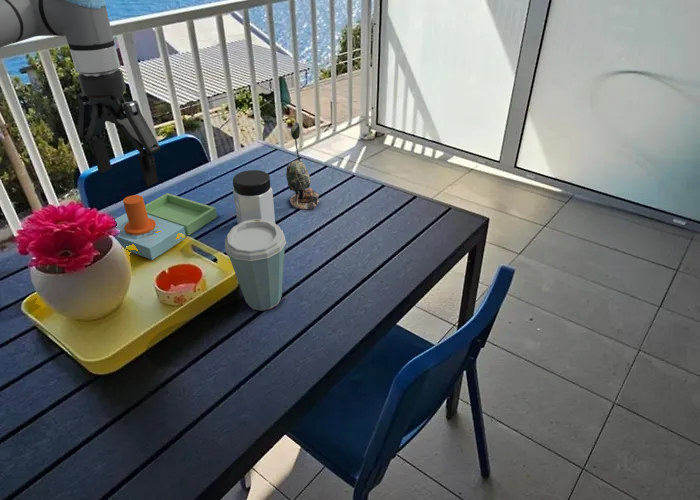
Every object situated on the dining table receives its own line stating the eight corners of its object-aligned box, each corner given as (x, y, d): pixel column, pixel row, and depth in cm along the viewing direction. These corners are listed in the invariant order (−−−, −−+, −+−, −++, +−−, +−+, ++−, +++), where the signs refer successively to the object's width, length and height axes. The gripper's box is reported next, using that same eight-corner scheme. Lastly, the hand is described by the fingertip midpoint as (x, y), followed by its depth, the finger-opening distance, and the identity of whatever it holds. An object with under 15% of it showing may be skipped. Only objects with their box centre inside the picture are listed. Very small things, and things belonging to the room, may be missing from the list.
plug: (121, 242, 110) (110, 202, 105) (144, 228, 115) (134, 189, 109) (142, 249, 108) (131, 209, 102) (164, 236, 112) (155, 196, 107)
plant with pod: (277, 210, 123) (271, 131, 112) (299, 190, 131) (295, 116, 120) (307, 216, 120) (303, 137, 109) (327, 196, 129) (326, 121, 118)
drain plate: (100, 240, 111) (96, 228, 109) (135, 220, 118) (132, 209, 116) (152, 260, 104) (149, 248, 103) (186, 237, 112) (184, 226, 110)
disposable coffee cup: (288, 318, 90) (282, 249, 81) (228, 319, 89) (216, 249, 81) (292, 282, 98) (288, 216, 90) (238, 283, 98) (228, 217, 90)
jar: (233, 219, 119) (227, 173, 112) (266, 211, 122) (261, 166, 115) (245, 237, 112) (239, 189, 105) (279, 228, 115) (275, 181, 109)
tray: (139, 218, 119) (136, 209, 117) (169, 202, 126) (167, 192, 124) (188, 235, 112) (186, 225, 111) (217, 217, 120) (215, 207, 118)
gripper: (164, 74, 89) (186, 182, 101) (72, 59, 99) (102, 159, 110) (131, 85, 83) (158, 197, 95) (37, 67, 93) (72, 171, 105)
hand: (128, 177), depth 103 cm, fingers open, 13 cm apart
